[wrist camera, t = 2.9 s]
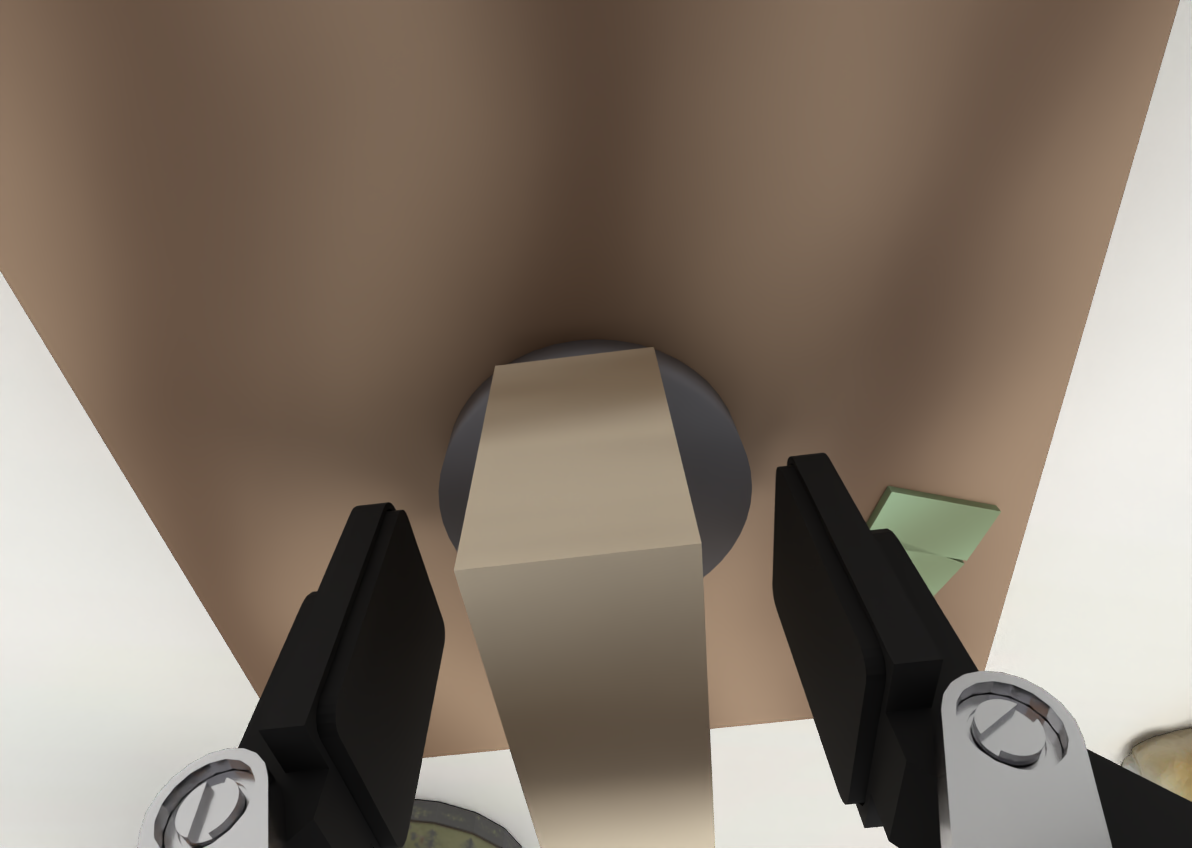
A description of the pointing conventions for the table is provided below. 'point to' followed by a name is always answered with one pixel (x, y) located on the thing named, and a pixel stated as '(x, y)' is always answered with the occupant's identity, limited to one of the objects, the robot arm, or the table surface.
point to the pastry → (1165, 761)
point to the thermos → (453, 828)
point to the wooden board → (567, 264)
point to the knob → (598, 581)
